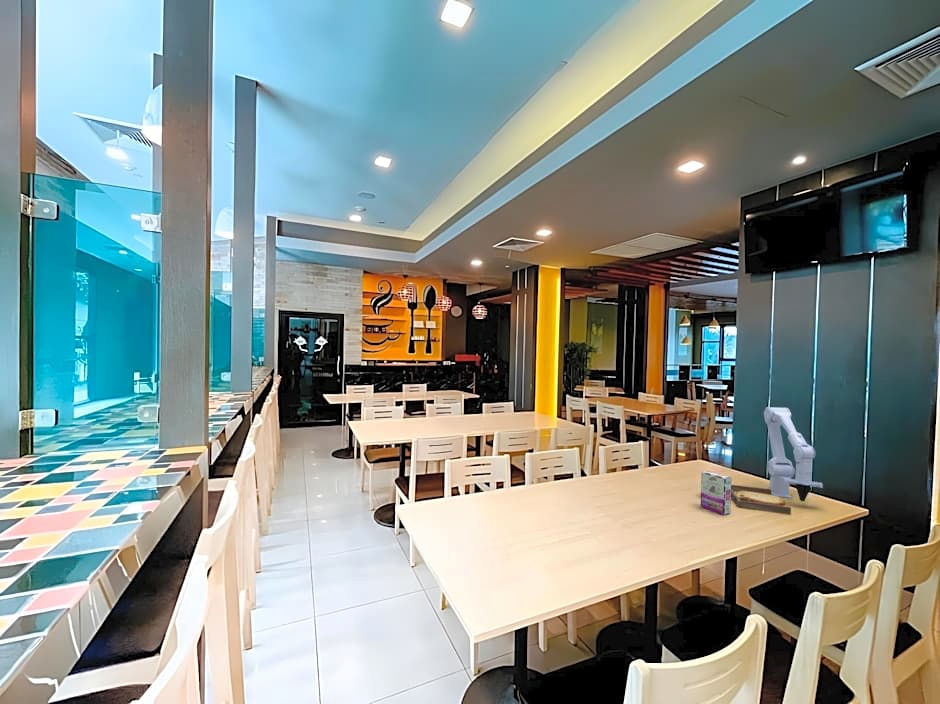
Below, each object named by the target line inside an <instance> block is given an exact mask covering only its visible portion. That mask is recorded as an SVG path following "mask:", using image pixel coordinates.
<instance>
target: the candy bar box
mask: <svg viewBox="0 0 940 704" xmlns="http://www.w3.org/2000/svg"><path fill="white" fill-rule="evenodd" d="M700 482H701V484H700V507H701V508H703V509H706V510H710V511H711V512H714V513H717V514H720V515H722V516H726V515H730V514H731V504H732V502H731V500H732V498H731V485H732V477H731V476H727V475H725V474H721V473H718V472H715V471H710V470H705V471H701V481H700Z"/></svg>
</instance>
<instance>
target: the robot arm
mask: <svg viewBox="0 0 940 704" xmlns="http://www.w3.org/2000/svg"><path fill="white" fill-rule="evenodd" d="M763 417H764V422H765V424H766V425H767V430H768V436H769V442H770V448H771V454H772V458H771V459H769V460H768V461H767V472H768V474H769V475H770V478H769V489H771V495H773V496H778V497H780V498H790V499H793V496H792V495H791V494H790V488H791V487H790V486H791V485H794V487H795V489H796V491H797V494H798V500H799V501H801V502H806V499H807V496H808V494H809V493H810V491H812V488H813V487H814V488H820V489H823V486H824V484H823V483H822V482H818V481H812V468H813V466H812V463H813V462H812V461H813V460H814V459H815V457H816V455H817V453H816V450H815V448H814V447H813V446H811V445H810V444H808V442H807V441H806V440H805V438H804V437H803V435H802V433H801V432H798V431H797V430H796V427H795V425H794V423H793V421H792V419H791V418H792V413H791V410H790V409H789V408H788V407H771V406H767V407H765V409H764V411H763ZM781 426H782V427H783V429H784V430H785V431H786V433H787V434H788V436H787V440H788V441H789V443H790V445H791V447H792V448H793V452H792V453H793V457H794V461H795V467H794V465H793V463H792V461H791V460H790V459H788V458H787V457H786V452H785V447H784V442H783V436H782V432H781ZM794 476H795V477H794Z"/></svg>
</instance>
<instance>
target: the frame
mask: <svg viewBox="0 0 940 704" xmlns="http://www.w3.org/2000/svg"><path fill="white" fill-rule="evenodd" d="M742 490H743V491H748V492H756V493H763V494H768V495H772V494H771V489H770V488H763V487H762V488H761V487H757V486H756V487H755V486H747V485H736V484H731V500H732V501H733V502H734V503H735V504H736V506H737V507H738V508H741V509H747V510H753V511H762V512H768V513H777V514H783V515H791V513H792V507H791V506H785V505H784V506H778V505H770V504H762V503H755V502H747V501H741V500H740V499H739V498H738V497H737V495H736V494H735V493H736V492H739V491H742Z"/></svg>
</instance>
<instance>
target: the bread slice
mask: <svg viewBox="0 0 940 704" xmlns="http://www.w3.org/2000/svg"><path fill="white" fill-rule="evenodd" d="M734 493H735V494H736V495H737V497H738V498H739V499H740V500H741V501H747V502H755V503H762V504H770V505H778V506H785V505H786V501H785V499H783V497H780V496H773V495H772V494H771V495H768V494H763V493H756V492H748V491H743V490H742V491H739V492H736V491H735V492H734Z"/></svg>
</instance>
